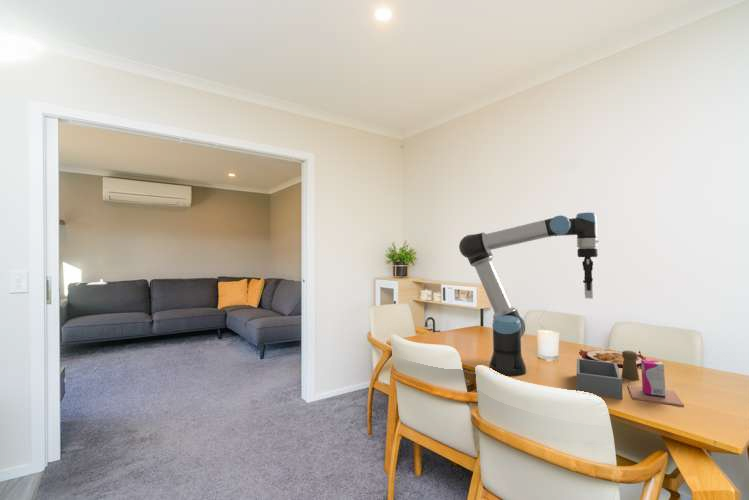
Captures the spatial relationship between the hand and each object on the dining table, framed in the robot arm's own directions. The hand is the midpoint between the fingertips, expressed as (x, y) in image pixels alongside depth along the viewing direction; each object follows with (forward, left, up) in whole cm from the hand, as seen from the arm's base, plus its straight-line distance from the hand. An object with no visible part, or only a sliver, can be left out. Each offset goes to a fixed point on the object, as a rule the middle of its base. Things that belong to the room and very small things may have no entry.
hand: (588, 296), depth 156 cm
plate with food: (+11, +25, -34) cm, 43 cm away
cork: (+14, -1, -33) cm, 36 cm away
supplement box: (+19, -20, -32) cm, 42 cm away
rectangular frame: (+2, -18, -33) cm, 37 cm away
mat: (+19, -20, -33) cm, 43 cm away
